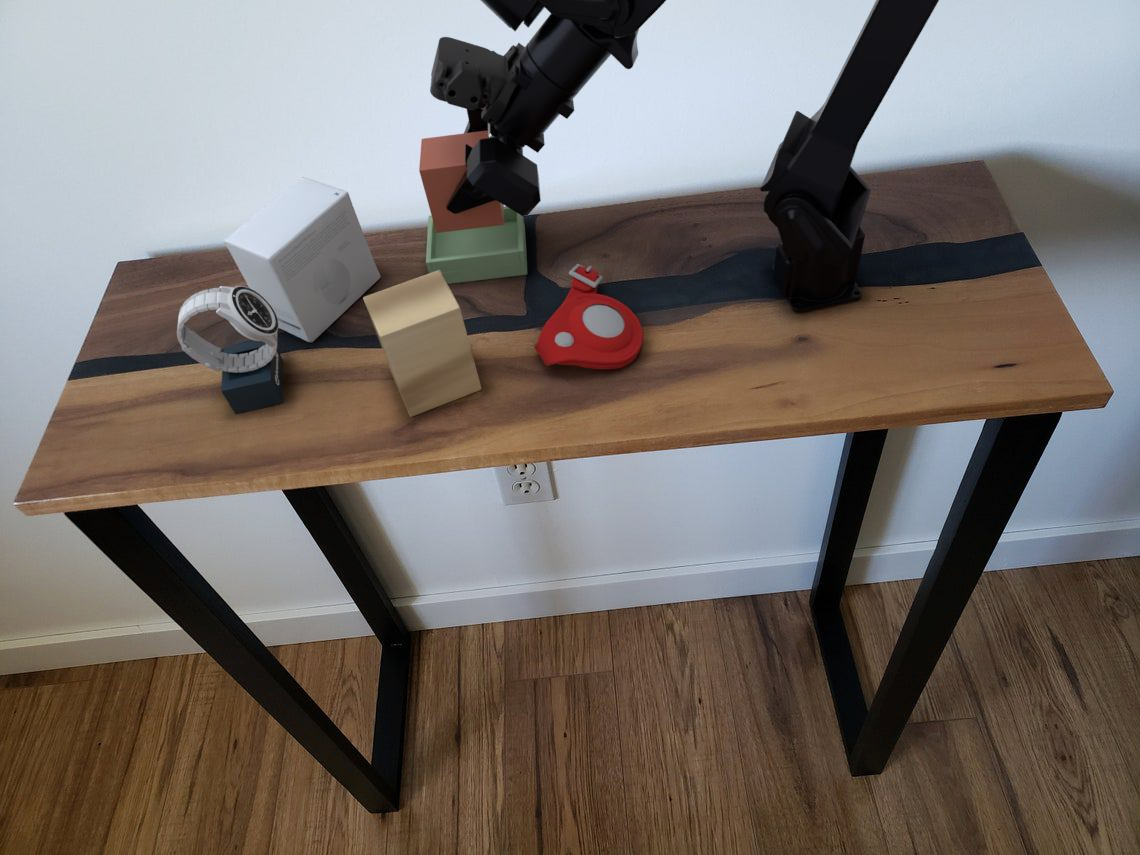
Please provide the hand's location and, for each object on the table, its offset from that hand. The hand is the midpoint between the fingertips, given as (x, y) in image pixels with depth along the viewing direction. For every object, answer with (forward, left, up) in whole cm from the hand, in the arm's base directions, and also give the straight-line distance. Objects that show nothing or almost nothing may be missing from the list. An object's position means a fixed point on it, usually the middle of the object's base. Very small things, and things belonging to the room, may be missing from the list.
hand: (451, 193), depth 82 cm
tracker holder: (-10, +14, -8) cm, 19 cm away
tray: (-1, 0, -8) cm, 8 cm away
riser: (+5, +16, -8) cm, 19 cm away
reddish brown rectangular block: (-1, 0, -2) cm, 3 cm away
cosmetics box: (+15, +2, -8) cm, 17 cm away
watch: (+21, +12, -8) cm, 25 cm away
